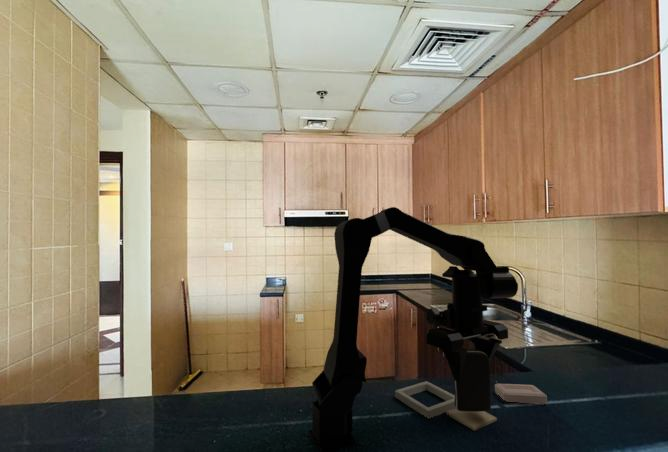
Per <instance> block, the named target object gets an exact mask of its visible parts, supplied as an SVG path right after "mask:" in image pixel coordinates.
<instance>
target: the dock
mask: <svg viewBox="0 0 668 452" xmlns="http://www.w3.org/2000/svg"><path fill="white" fill-rule="evenodd" d="M425 391H428V392H430V393H431V394H434V395H435V396H437V397H439V398H441V399H442V400H444V401H443V402H440V403H437V404H434V405H431V406H429V407H428V406H426V405H425V404H423V403H421V402H420V401H419V400H416V399H415V398H414V397H412V395H416V394H419V393H421V392H425ZM394 395H395V397H394V398H396V400H397V399H398V400H399V401H401V402H402V403H403V404H404V405H406V406H408V407H410V408H411V409H412V410H414V411H416V412H417V413H419V414H420V415H421V416H423V415H424V416H423V417H425V418H426V417H427V419H428V420H429V418H430V419H432V418H435V417H437V416H440V415H442V413H443V414H444V412H445V413H446V412H447V411H449V410H452V409H455V408H456V406H455V402H454V400H455V394H453V393H451V392H449V391H446V390H445V389H443V388H442V387H441V388H440V387H439V386H437V385H435V384H433V383H431V382H429V381H427V380H426V381H422V382H419V383H415V384H413V385H409V386H405V387H403V388H399V389H396V390H395V394H394ZM434 416H435V417H434ZM431 417H432V418H431Z"/></svg>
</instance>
